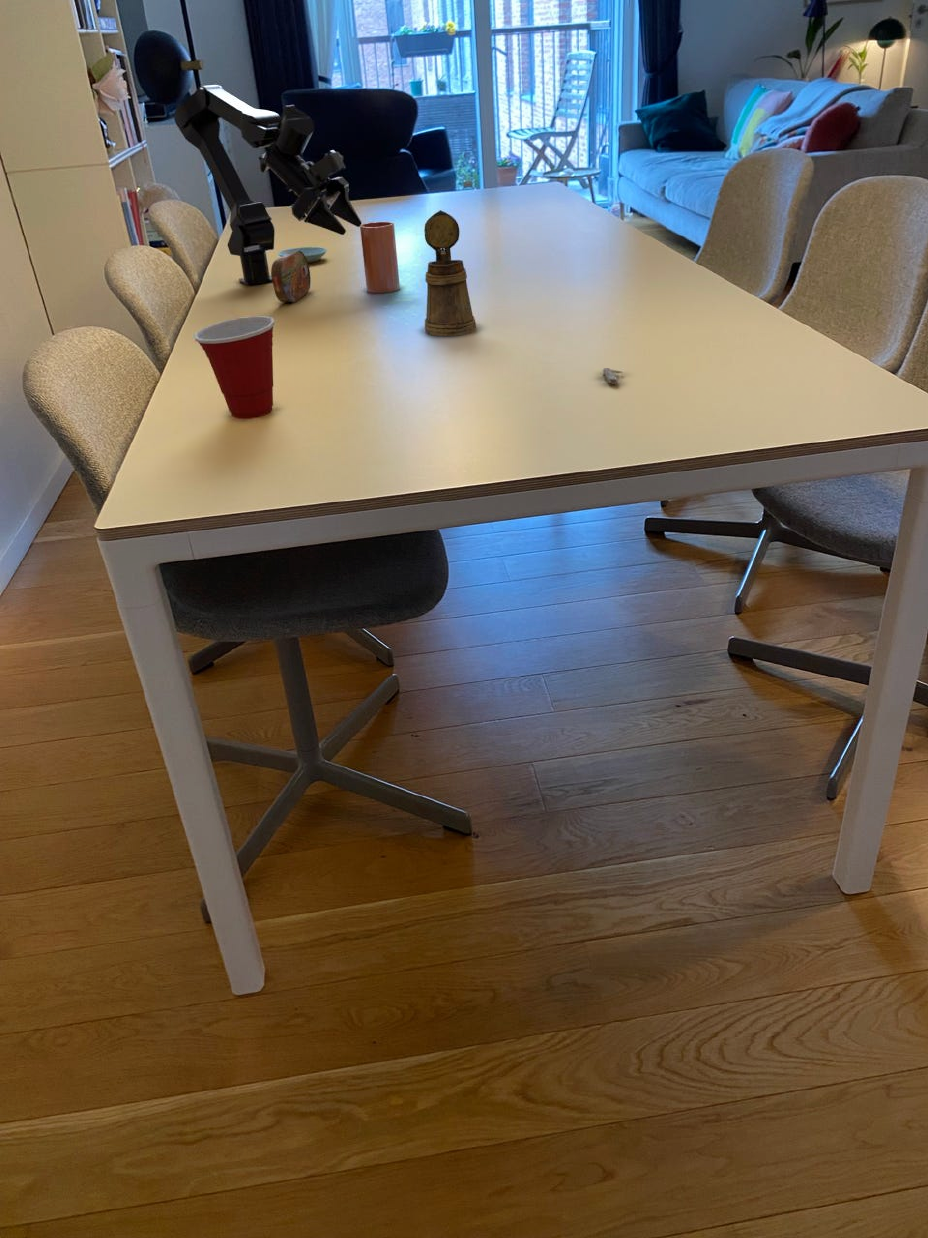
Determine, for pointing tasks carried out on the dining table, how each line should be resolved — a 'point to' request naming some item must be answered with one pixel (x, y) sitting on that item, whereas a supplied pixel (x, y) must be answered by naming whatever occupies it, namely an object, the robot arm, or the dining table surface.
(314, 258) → the saucer
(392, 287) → the pot
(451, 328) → the wooden mug
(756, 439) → the dining table surface
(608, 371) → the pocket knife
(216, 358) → the plastic cup
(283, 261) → the tin
